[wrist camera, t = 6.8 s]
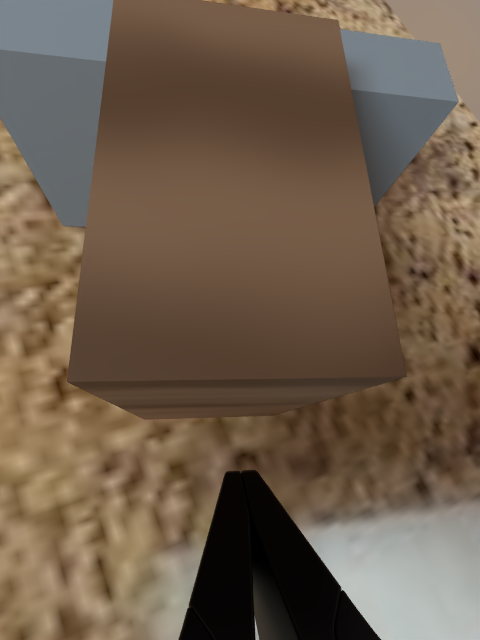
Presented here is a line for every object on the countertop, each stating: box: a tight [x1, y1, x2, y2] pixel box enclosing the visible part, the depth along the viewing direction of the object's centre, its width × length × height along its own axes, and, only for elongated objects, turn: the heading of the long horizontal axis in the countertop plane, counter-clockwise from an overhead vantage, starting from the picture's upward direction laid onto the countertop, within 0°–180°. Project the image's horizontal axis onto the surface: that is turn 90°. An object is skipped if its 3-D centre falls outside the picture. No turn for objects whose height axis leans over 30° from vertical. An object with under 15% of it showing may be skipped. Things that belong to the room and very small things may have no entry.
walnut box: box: [67, 0, 407, 419], centre depth 13 cm, size 10×6×11 cm, turn 2°
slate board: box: [0, 0, 459, 227], centre depth 16 cm, size 3×16×9 cm, turn 92°
